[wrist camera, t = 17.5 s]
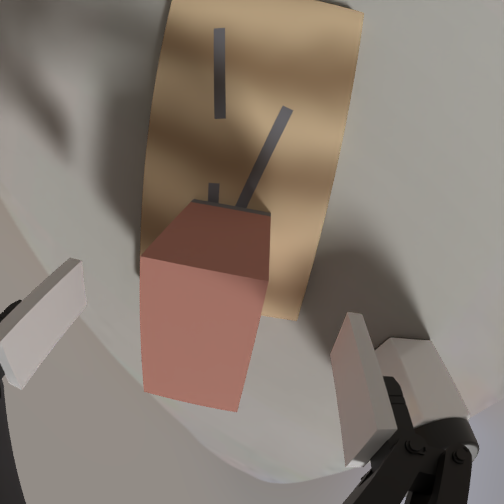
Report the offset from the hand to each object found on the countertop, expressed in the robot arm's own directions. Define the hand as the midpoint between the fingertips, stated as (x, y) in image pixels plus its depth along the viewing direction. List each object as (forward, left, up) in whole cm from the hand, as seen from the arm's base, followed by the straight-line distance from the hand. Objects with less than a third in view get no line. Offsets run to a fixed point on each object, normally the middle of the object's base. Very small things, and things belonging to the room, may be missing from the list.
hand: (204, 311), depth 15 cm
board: (-6, 0, -9) cm, 11 cm away
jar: (+10, +17, -9) cm, 21 cm away
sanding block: (+1, 0, -7) cm, 7 cm away
